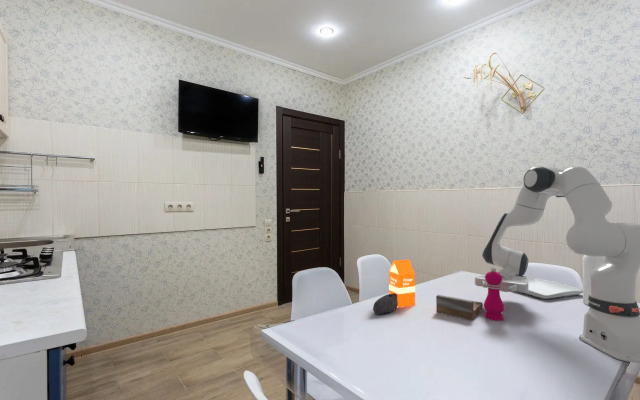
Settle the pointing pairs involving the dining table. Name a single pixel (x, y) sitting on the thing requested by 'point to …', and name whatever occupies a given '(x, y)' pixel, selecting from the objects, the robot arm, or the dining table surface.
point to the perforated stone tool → (385, 304)
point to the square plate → (550, 289)
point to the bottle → (588, 266)
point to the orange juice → (402, 282)
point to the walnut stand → (458, 307)
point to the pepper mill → (493, 296)
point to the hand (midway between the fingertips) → (497, 287)
